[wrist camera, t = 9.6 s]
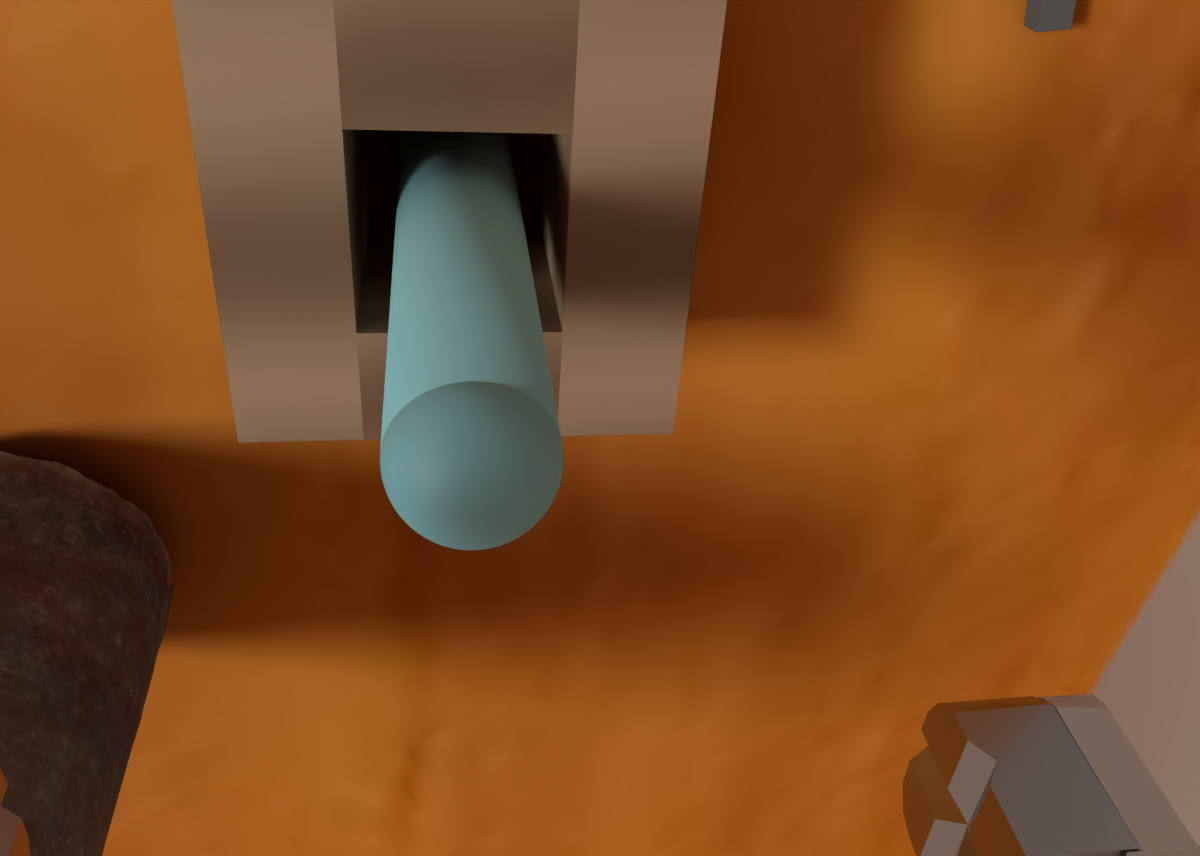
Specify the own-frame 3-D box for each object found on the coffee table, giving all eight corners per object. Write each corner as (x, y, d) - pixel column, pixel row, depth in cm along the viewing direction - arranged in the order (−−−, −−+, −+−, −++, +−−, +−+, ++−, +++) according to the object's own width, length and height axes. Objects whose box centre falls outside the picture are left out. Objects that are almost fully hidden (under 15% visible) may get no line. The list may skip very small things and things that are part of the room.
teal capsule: (399, 91, 23) (370, 437, 12) (510, 94, 23) (577, 433, 13) (402, 197, 24) (380, 593, 14) (508, 198, 25) (568, 585, 14)
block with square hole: (218, -86, 21) (166, -33, 17) (673, -64, 22) (728, -9, 18) (268, 324, 26) (237, 442, 22) (636, 322, 27) (673, 434, 23)
